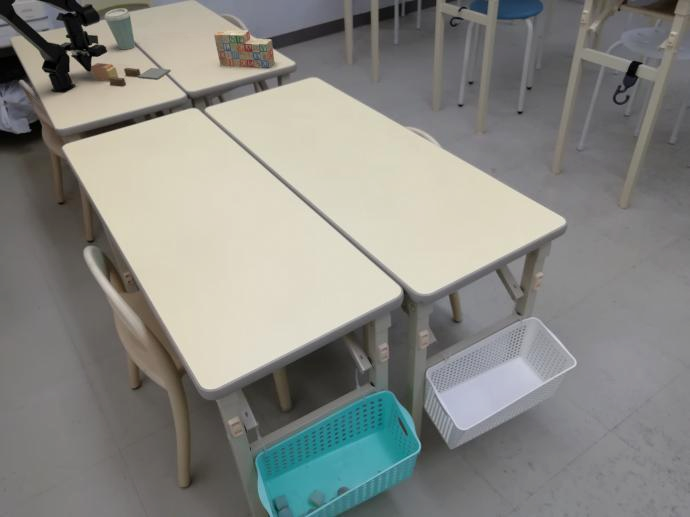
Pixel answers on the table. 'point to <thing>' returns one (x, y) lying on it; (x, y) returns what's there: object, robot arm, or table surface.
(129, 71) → the rail right
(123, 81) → the rail left
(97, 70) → the plug block
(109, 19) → the disposable coffee cup
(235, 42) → the stack of blocks
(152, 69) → the mat
